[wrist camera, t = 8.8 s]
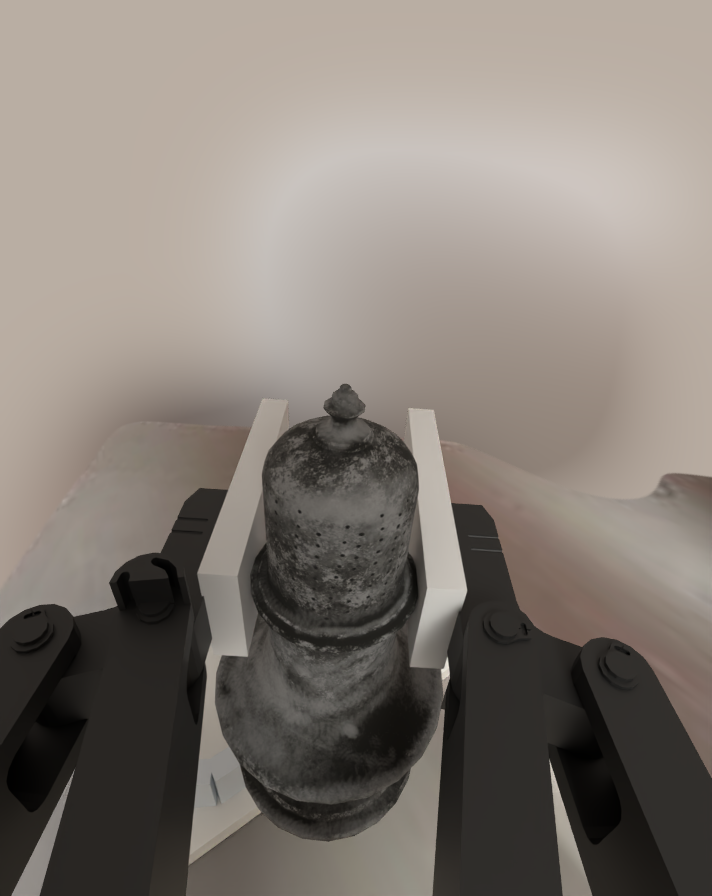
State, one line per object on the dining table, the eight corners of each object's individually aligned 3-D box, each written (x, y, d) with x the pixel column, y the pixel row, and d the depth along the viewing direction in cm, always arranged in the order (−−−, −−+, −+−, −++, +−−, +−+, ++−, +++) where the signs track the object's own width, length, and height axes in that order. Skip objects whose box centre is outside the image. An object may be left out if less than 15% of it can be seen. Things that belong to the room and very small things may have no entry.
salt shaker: (268, 629, 18) (243, 302, 11) (431, 666, 17) (520, 339, 10) (191, 821, 13) (52, 460, 6) (412, 885, 12) (559, 556, 5)
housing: (374, 519, 40) (377, 486, 37) (495, 641, 31) (508, 607, 29) (76, 657, 29) (58, 622, 27) (138, 901, 20) (120, 877, 18)
